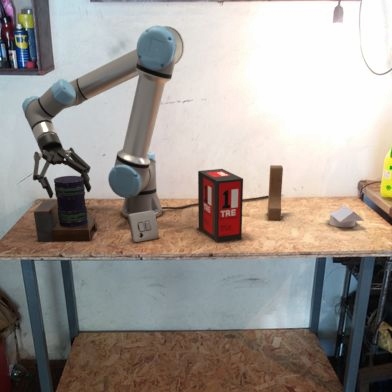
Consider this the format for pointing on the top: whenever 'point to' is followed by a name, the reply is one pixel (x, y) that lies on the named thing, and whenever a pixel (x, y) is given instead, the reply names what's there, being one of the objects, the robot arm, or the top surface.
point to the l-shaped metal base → (58, 225)
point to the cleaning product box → (220, 204)
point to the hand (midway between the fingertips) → (70, 193)
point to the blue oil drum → (71, 201)
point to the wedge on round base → (344, 217)
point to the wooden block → (275, 192)
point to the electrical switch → (143, 226)
